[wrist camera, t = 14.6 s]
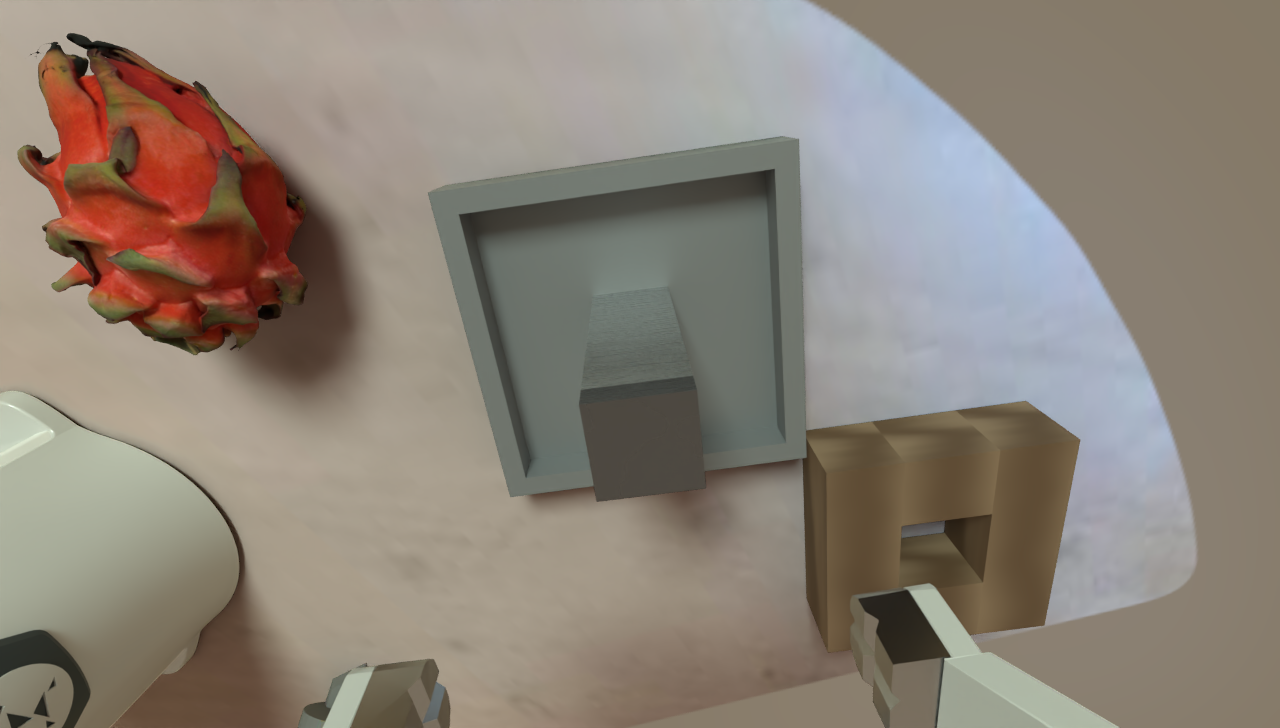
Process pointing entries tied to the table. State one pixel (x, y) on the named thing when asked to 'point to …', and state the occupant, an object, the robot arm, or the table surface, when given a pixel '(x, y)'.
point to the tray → (626, 261)
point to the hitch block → (938, 513)
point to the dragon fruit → (163, 201)
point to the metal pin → (639, 399)
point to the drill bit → (322, 706)
